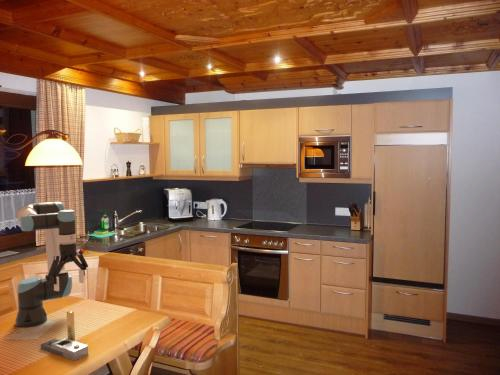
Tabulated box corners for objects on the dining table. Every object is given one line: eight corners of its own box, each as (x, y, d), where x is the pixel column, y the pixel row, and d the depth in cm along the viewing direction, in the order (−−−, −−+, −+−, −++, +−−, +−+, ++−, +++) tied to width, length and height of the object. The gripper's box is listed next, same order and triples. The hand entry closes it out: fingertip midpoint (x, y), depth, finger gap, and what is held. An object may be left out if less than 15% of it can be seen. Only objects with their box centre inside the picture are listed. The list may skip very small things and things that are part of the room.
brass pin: (66, 341, 200) (65, 312, 199) (72, 338, 202) (70, 310, 201) (70, 342, 198) (69, 313, 197) (76, 340, 201) (75, 311, 200)
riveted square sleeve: (40, 348, 192) (40, 339, 192) (54, 342, 198) (54, 333, 198) (74, 360, 180) (74, 350, 180) (88, 354, 186) (87, 344, 186)
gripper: (48, 248, 184) (50, 295, 186) (94, 238, 206) (96, 280, 207) (38, 247, 188) (40, 292, 190) (84, 237, 210) (86, 278, 211)
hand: (69, 286), depth 198 cm, fingers open, 13 cm apart
